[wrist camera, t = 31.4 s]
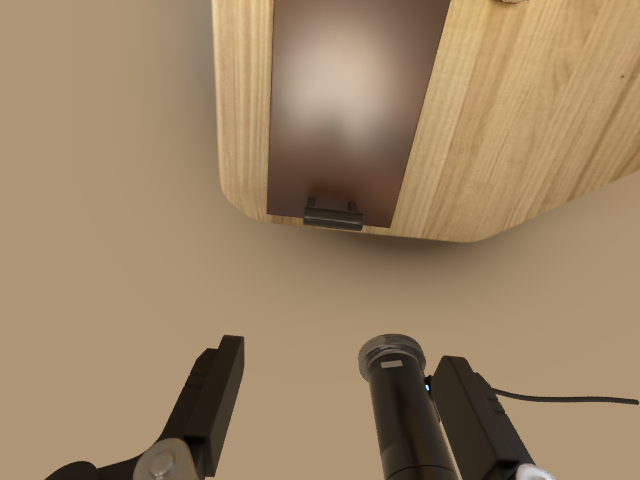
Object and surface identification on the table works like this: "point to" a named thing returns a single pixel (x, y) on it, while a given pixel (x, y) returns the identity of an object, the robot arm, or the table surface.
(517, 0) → the computer mouse
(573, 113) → the table surface
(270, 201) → the lid
